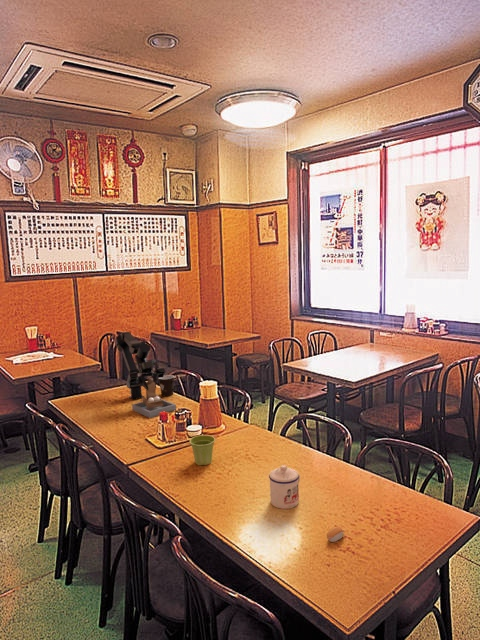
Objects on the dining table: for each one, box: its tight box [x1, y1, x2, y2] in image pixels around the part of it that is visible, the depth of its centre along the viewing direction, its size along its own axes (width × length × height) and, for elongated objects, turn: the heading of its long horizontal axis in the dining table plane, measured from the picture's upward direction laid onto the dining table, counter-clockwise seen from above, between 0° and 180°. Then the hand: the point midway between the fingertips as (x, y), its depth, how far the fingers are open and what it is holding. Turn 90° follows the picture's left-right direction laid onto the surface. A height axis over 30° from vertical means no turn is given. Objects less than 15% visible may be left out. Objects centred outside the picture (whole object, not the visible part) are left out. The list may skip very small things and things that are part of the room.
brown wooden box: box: [141, 377, 164, 409], centre depth 240 cm, size 9×8×12 cm
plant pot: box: [189, 434, 216, 466], centre depth 179 cm, size 9×9×9 cm
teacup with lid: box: [268, 464, 301, 510], centre depth 149 cm, size 12×9×12 cm
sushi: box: [326, 526, 345, 543], centre depth 129 cm, size 3×6×3 cm, turn 131°
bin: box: [131, 399, 177, 419], centre depth 241 cm, size 17×15×3 cm
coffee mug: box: [157, 374, 178, 397], centre depth 265 cm, size 12×9×10 cm
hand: (151, 389), depth 241 cm, fingers closed on brown wooden box, 4 cm apart
